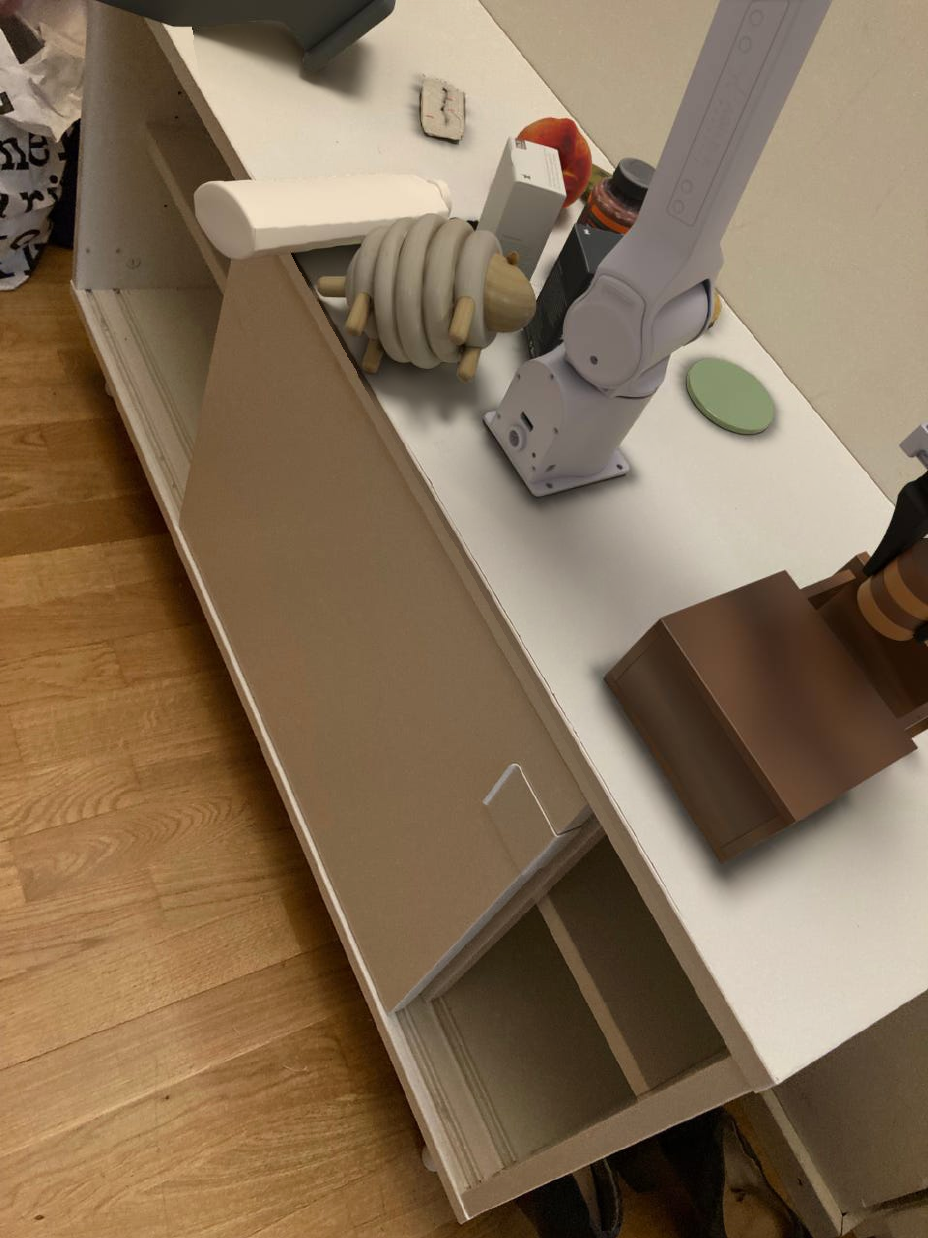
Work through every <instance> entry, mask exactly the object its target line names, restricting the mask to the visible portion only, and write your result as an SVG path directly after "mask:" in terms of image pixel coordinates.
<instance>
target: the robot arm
mask: <svg viewBox="0 0 928 1238" xmlns="http://www.w3.org/2000/svg"><path fill="white" fill-rule="evenodd" d="M832 2H833V0H719V1H718V4H717V7H716V10H715V12H714V14H713V17H712V20H711V23H710V25H709V28H708V30H707V34H706V36H705V38H704V40H703V43H702V47H701V49H700V51H699V54H698V57H697V59H696V62H695V65H694V68H693V70H692V73H691V74H690V75H691V76H690V78H689V81H688V83H687V85H686V89H685V91H684V94H683V96H682V98H681V102H680V104H679V107H678V110H677V112H676V115H675V117H674V120H673V123H672V125H671V127H670V130H669V133H668V136H667V139H666V141H665V144H664V145H663V148H662V152H661V154H660V157H659V160H658V162H657V164H656V166H655V169H656V170H655V173H654V175H653V178H652V180H651V183H650V186H649V188H648V191H647V194H646V196H645V199H644V201H643V204H642V207H641V209H640V212H639V215H638V217H637V220H636V222H635V223H634V225H633V226H632V227H631V229H630V230H629V231H628V232H627V233H626V234H625V235H624V237H623V238H622V239H621V240H620V241H619V242H618V243H617V244H616V246H615V247H614V248H613V249H612V250H611V251H610V252H609V253H608V255H607V256H606V257H605V258H604V259H603V260H602V262H601V263H600V264H599V266H598V268H597V270H596V273H595V276H594V279H593V281H592V283H591V285H590V286H589V288H588V289H587V290H586V292H585V293H584V294H582V295H581V296H580V297H579V298H577V299H576V300H575V301H574V302H573V304H572V305H571V306H570V308H569V310H568V312H567V314H566V317H565V320H564V325H563V340H564V342H563V343H562V344H560V345H559V346H558V347H557V348H555V349H554V350H553V351H551V352H549V353H547V354H545V355H543V356H541V357H538V358H535V359H531V360H529V359H528V360H527V361H525V362H523V363H522V364H521V365H520V366H519V368H517V370H516V372H515V374H514V376H513V378H512V379H511V381H510V384H509V386H508V387H507V389H506V391H505V394H504V396H503V398H502V400H501V401H500V404H499V405H498V407H497V410H494V411H488V412H486V413H485V414H484V416H483V421H484V422H485V424H486V425H487V427H488V428H489V430H490V432H491V433H492V434H493V436H494V437H495V439H496V441H497V442H498V443H499V445H500V446H501V448H502V450H503V452H504V453H505V454H506V456H507V457H508V459H509V461H510V462H511V464H512V465H513V467H514V469H516V471H517V473H518V474H519V476H520V477H521V479H522V480H523V482H524V483H525V485H526V487H527V488H528V490H529V491H530V493H531V494H532V495H533V496H534V497H543V496H548V495H551V494H555V493H558V492H562V491H566V490H570V489H573V488H578V487H581V486H585V485H589V484H591V483H596V482H600V481H603V480H607V479H611V478H614V477H619V476H622V475H626V474H627V473H629V471H630V469H631V467H630V465H629V463H628V461H627V460H626V459H625V458H624V456H623V454H622V453H621V452H620V451H619V449H618V448H619V447H620V446H621V444H622V443H623V441H624V440H625V438H626V437H627V435H628V434H629V432H630V431H631V429H632V427H633V426H634V425H635V424H636V422H637V421H638V419H639V418H640V416H641V415H642V413H644V410H645V409H646V408H647V406H648V405H649V403H650V401H651V400H652V399H653V397H654V396H655V394H656V393H657V392H658V390H659V388H660V386H662V384H663V383H664V381H665V378H666V375H667V369H668V365H669V361H670V358H671V355H672V354H673V353H674V352H676V351H678V350H679V349H680V348H682V347H685V346H687V345H689V344H691V343H693V342H695V341H697V340H698V339H700V338H701V336H703V335H704V334H705V333H706V331H707V329H708V328H709V326H710V325H711V324H710V322H711V320H712V317H713V314H714V307H715V294H714V291H715V289H716V284H717V279H718V277H719V274H720V272H721V270H722V268H723V266H724V263H725V257H724V253H723V249H722V246H721V242H722V240H723V237H724V236H725V234H726V232H727V229H728V227H729V225H730V223H731V220H732V218H733V216H734V213H736V210H737V207H738V205H739V203H740V201H741V199H742V196H743V194H744V192H745V190H746V188H747V186H748V184H749V182H750V179H751V177H752V176H753V173H754V171H755V169H756V166H757V164H758V162H759V161H760V158H761V156H762V153H763V151H764V149H765V147H766V145H767V143H768V141H769V138H770V136H771V134H772V131H773V130H774V128H775V126H776V124H777V121H778V120H779V116H780V115H781V113H782V110H783V108H784V106H785V104H786V102H787V100H788V97H789V95H790V93H791V91H792V89H793V87H794V84H795V82H796V80H797V78H798V76H799V74H800V71H801V69H802V67H803V65H804V63H805V61H806V59H807V57H808V54H809V53H810V50H811V48H812V46H813V43H814V42H815V39H816V37H817V35H818V33H819V30H821V29H820V28H821V27H822V24H823V22H824V20H825V18H826V16H827V13H828V11H829V10H830V7H831V5H832ZM898 446H899V448H900V449H901V451H903V453H904V454H905V455H906V456H907V457H908V458H911V459H913V458H915V457H916V459H917V461H918V462H920V463H921V465H922V466H923V467H924V468H925V469H926V471H925V472H924V473H923V474H922V475H920V476H918V477H917V478H916V479H914V480H912V481H908V482H906V484H904V485H903V486H902V488H901V489H900V491H899V492H898V494H897V497H896V502H895V506H894V510H893V513H892V516H891V519H890V522H889V524H888V526H887V529H886V531H885V533H884V535H883V536H882V539H881V540H880V542H879V544H878V545H877V547H876V548H875V550H874V552H873V553H872V555H870V556H871V558H870V559H869V560H868V562H867V563H866V564H865V565H864V566H863V568H862V571H863V572H864V574H865V575H866V576H867V577H870V576H872V575H874V574H875V573H877V572H878V571H879V570H880V569H881V568H883V567H884V566H885V565H886V564H888V563H889V562H890V561H891V560H893V559H894V558H895V557H896V556H898V555H899V554H900V553H901V552H903V551H904V550H905V549H906V548H907V547H909V546H910V545H911V544H912V543H914V542H915V541H916V540H918V539H921V538H926V536H927V535H928V421H927V422H923V423H920V424H919V425H918V426H917V427H916V428H915V429H914V430H912V432H911V433H910V434H909V435H908V436H906V437H905V438H904V439H903V440H902V441H901V442H900V443H899V444H898ZM912 636H913V637H914V638H915V640H916V641H917V642H918V643H919V644H921V643H923V642H925V641H927V640H928V625H926V626H924V627H923V628H921V629H920V630H918V631H917V632H916V633H914V634H913V635H912Z"/></svg>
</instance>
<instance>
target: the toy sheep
mask: <svg viewBox="0 0 928 1238" xmlns="http://www.w3.org/2000/svg"><path fill="white" fill-rule="evenodd" d="M459 218H460V217H457V218H454V219H450V218H449V219H450V220H449V219H448V221H447V220H446V219H444V218H443V217H442V216H441V215H439V214H435V213H427V214H425V215H422V216H421V217H420V218H418V219H415V218H412V217H404V218H400V219H398V220H396V221H395V222H394V223H393V224H392V225H391V226H384V225H383V226H378V227H376V228H374V229H373V230H371V231H370V232H369V233H368V234H367V236H366V237H365V238H364V240H363V242H362V244H360V247H359V248H358V249H357V251H355V253H354V255H353V257H352V258H351V260H350V262H349V265H348V268H347V271H346V274H345V276H332V275H331V276H327V275H326V276H320V278H319V279H318V280H317V284H316V285H317V287H316V289H317V292H318V294H319V295H320V296H321V297H323V298H338V299H339V298H340V299H341V298H342V299H346V305H347V307H348V310H349V315H348V317H347V320H346V322H345V325H344V331H345V333H347V335H348V336H350V337H353V338H358V337H360V336H361V335H362V334H363V332H364V333H365V334H366V336H367V337H369V341H368V344H367V347H366V350H365V353H364V356H363V358H362V361H361V368H362V370H363V371H364V372H366V373H368V374H375V373H376V372H377V371H378V369H379V367H380V364H381V361H382V357H383V355H384V353H386V355H388V357H389V358H391V359H392V360H393V361H396V362H397V363H410V362H411V363H412V364H413V365H414V366H416V367H418V368H420V369H423V370H429V369H432V368H435V367H438V366H439V365H440V364H441V363H442V362H445V363H448V364H457V363H458V367H457V371H456V377H457V378H458V380H459V381H460V382H462V383H470V382H471V381H473V379H474V378H475V374H476V370H477V367H478V364H479V361H480V356H481V353H482V351H483V350H484V349H487V348H489V347H490V346H491V344H493V342H494V341H495V339H496V338H497V334H498V333H499V334H500V333H501V334H507V333H509V334H510V333H515V332H518V331H520V330H523V328H524V327H525V326H526V325H528V324H529V323H530V321H531V320H532V318H533V317H534V315H535V312H536V300H537V297H536V294H535V291H534V290H535V289H534V288H533V285H532V284H531V281H530V282H529V280H528V279H527V277H526V276H525V275H524V274H523V272H522V271H521V270H520V269H519V268H518V267H517V266H516V265H517V264H518V262H519V255H518V253H516V252H515V251H511V252H510V253H508V254H507V258H505V257H503V252H502V248H501V245H500V243H499V241H498V239H497V238H496V236H495V235H494V234H493V233H491V232H490V231H488V230H477V231H474V229H473V228H472V226H471V225H470V224H469V223H468V222H466V221H467V220H465V219H462V218H460V219H459Z"/></svg>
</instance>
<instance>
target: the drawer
mask: <svg viewBox="0 0 928 1238" xmlns="http://www.w3.org/2000/svg"><path fill="white" fill-rule="evenodd" d="M871 556H872V555H870V554H869V553H868V551H867V550H865V551H863V552H860V553H857V554H855V555H854V556H853V557H852V558H851V559H850V560H849V561H848V562H846V563H845V564H844V565H843V566H841V567H840V568H839V569H838V570H837V571H836V572H834V574H832V575H831V576H829V577H826V578H824V579H821V580H819V581H817V582H814V583H811V584H808V585H807V586H804V587H801V588H800V590H801V591H802V592H803V594H804V595H805V596H806V598H807V599H808V601H809V602H810V603H811V605H812V606H813V607H814V609H815V610H816V611H817V613H818V614H819V615H820V617H821V618H822V619H823V621H824V622H825V623H826V625H827V626H828V627H829V629H830V630H831V631H832V633H833V634H834V635H835V637H836V638H837V639H838V641H839V642H840V643H841V645H842V646H843V647H844V649H845V650H846V651H847V653H848V654H849V655H850V657H851V658H852V659H853V661H854V662H855V664H856V665H857V666H858V668H859V669H860V670H861V672H862V673H863V674H864V676H865V677H866V678H867V680H868V681H869V682H870V684H871V685H872V686H873V688H874V689H875V690H876V692H877V693H878V694H879V696H880V697H881V698H882V700H883V701H884V702H885V704H886V705H887V706H888V708H889V709H890V710H891V712H892V713H893V714H894V716H895V717H896V718H897V720H898V721H899V722H900V724H901V725H902V726H903V728H904V729H905V731H906V732H907V733H908V735H909V736H910V737H911V739H914V738H915V737H917V736H919V735H921V734H922V733H924V732H926V731H928V640H927V641H925V642H923V643H921V644H919V643H918V642H917V641H916V640H915V638H914V637H913V638H911V639H909V640H905V641H898V640H894V639H891V638H888V637H886V636H884V635H883V634H881V633H880V632H878V631H877V630H876V629H875V628H873V627H872V626H871V625H870V624H869V622H868V621H867V620H866V618H865V617H864V616H863V614H862V612H861V610H860V607H859V605H858V600H857V593H858V590H859V587H860V586H861V585H862V584H863V583H864V582H865V581H867V580H868V579H869V578H870V577H872V576H873V575H872V576H870V577H867V576H866V575H865V574H864V572H863V571H862V568H863V566H864V565H865V564H866V563H867V562H868V560H869V559H870V558H871Z"/></svg>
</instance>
